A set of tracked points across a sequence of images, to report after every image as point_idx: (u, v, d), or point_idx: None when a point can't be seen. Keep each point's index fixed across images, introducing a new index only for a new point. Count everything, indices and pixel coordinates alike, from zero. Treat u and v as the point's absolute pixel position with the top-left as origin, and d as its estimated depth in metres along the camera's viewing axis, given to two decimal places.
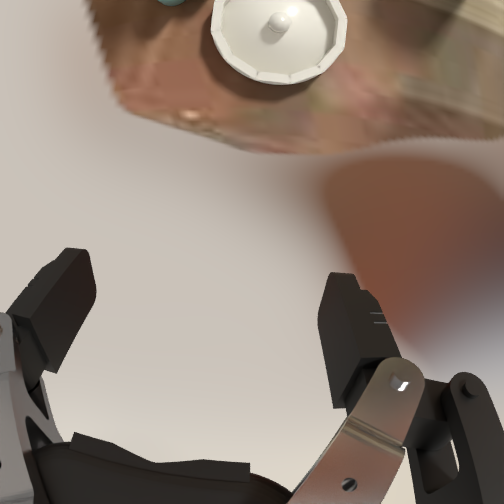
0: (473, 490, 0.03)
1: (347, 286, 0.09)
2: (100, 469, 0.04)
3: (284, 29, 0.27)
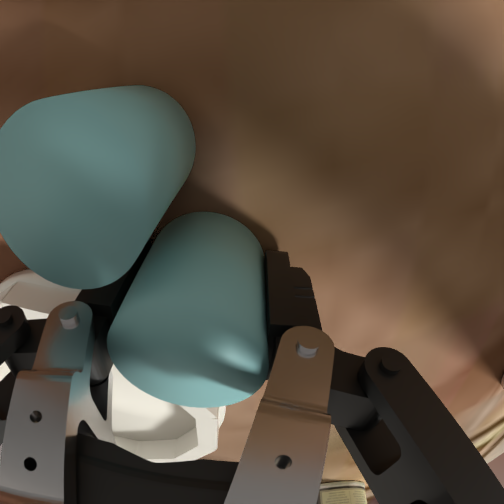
0: (424, 468, 0.04)
1: (276, 262, 0.09)
2: (100, 469, 0.04)
3: None
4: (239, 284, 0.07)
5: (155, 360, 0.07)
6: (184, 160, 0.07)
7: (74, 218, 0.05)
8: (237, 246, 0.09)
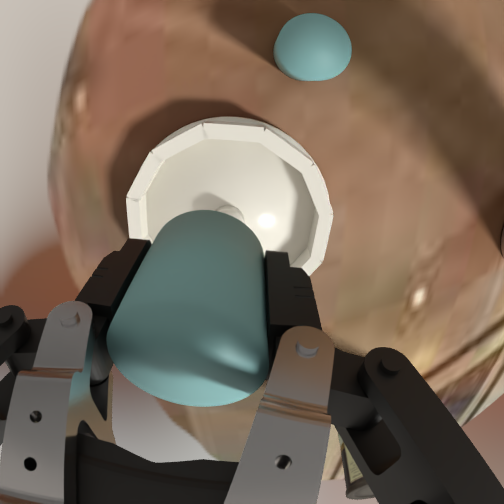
0: (424, 468, 0.04)
1: (277, 262, 0.09)
2: (100, 469, 0.04)
3: None
4: (239, 282, 0.07)
5: (155, 358, 0.07)
6: None
7: (323, 52, 0.14)
8: (237, 244, 0.09)
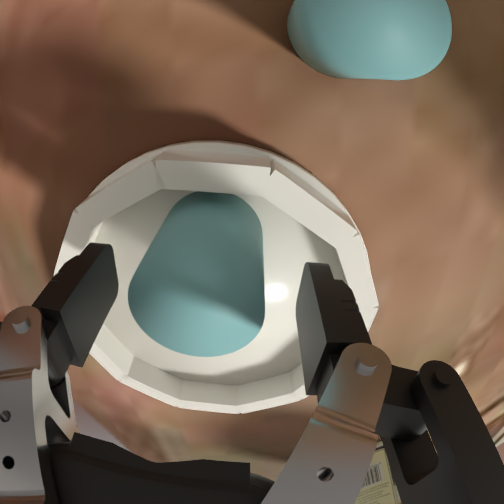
0: (456, 480, 0.04)
1: (320, 275, 0.09)
2: (100, 469, 0.04)
3: None
4: (241, 242, 0.09)
5: (169, 307, 0.09)
6: None
7: (402, 21, 0.05)
8: (239, 215, 0.10)
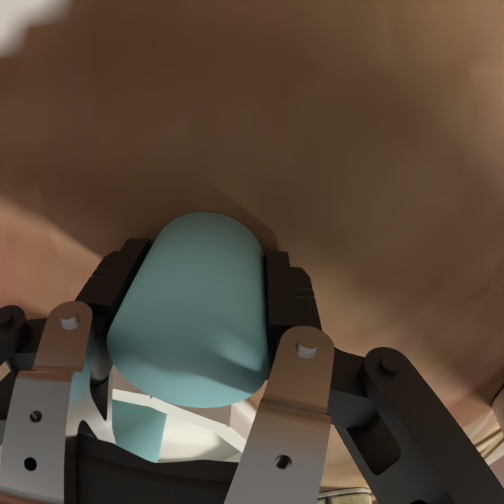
0: (424, 468, 0.04)
1: (276, 262, 0.09)
2: (100, 469, 0.04)
3: None
4: (133, 443, 0.11)
5: None
6: None
7: (203, 375, 0.07)
8: (137, 412, 0.12)
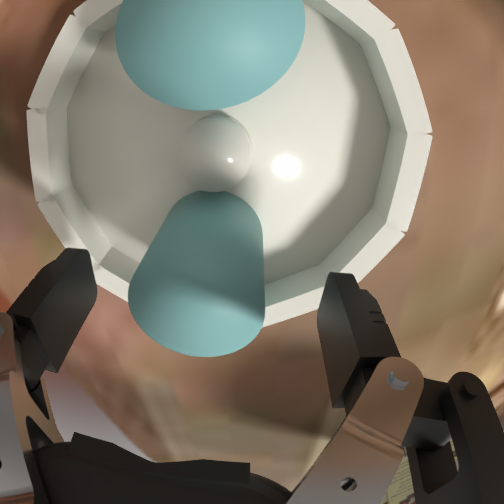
0: (472, 490, 0.03)
1: (346, 286, 0.09)
2: (100, 469, 0.04)
3: (183, 170, 0.10)
4: None
5: (170, 19, 0.05)
6: None
7: (210, 320, 0.09)
8: None
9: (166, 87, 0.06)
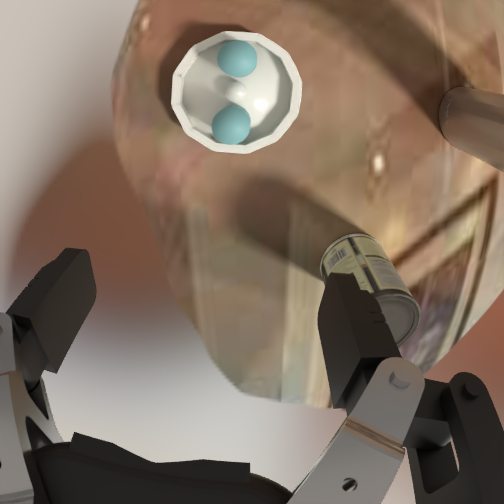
0: (473, 490, 0.03)
1: (347, 286, 0.09)
2: (100, 469, 0.04)
3: (226, 95, 0.31)
4: None
5: (229, 57, 0.27)
6: (250, 123, 0.33)
7: (235, 129, 0.31)
8: None
9: (228, 71, 0.27)
